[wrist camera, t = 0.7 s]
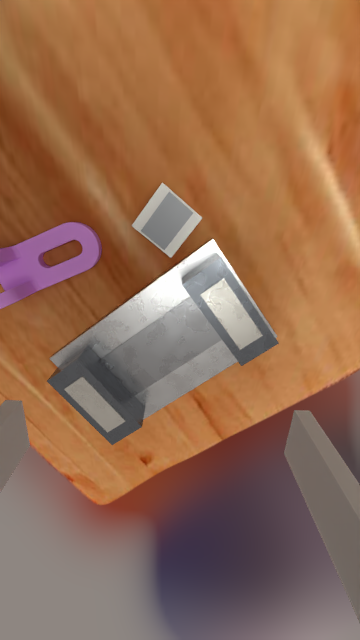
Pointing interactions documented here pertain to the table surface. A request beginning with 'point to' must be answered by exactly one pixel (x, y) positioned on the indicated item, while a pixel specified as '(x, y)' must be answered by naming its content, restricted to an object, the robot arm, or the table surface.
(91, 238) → the bracket
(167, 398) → the rail board
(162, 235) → the block
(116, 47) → the table surface
